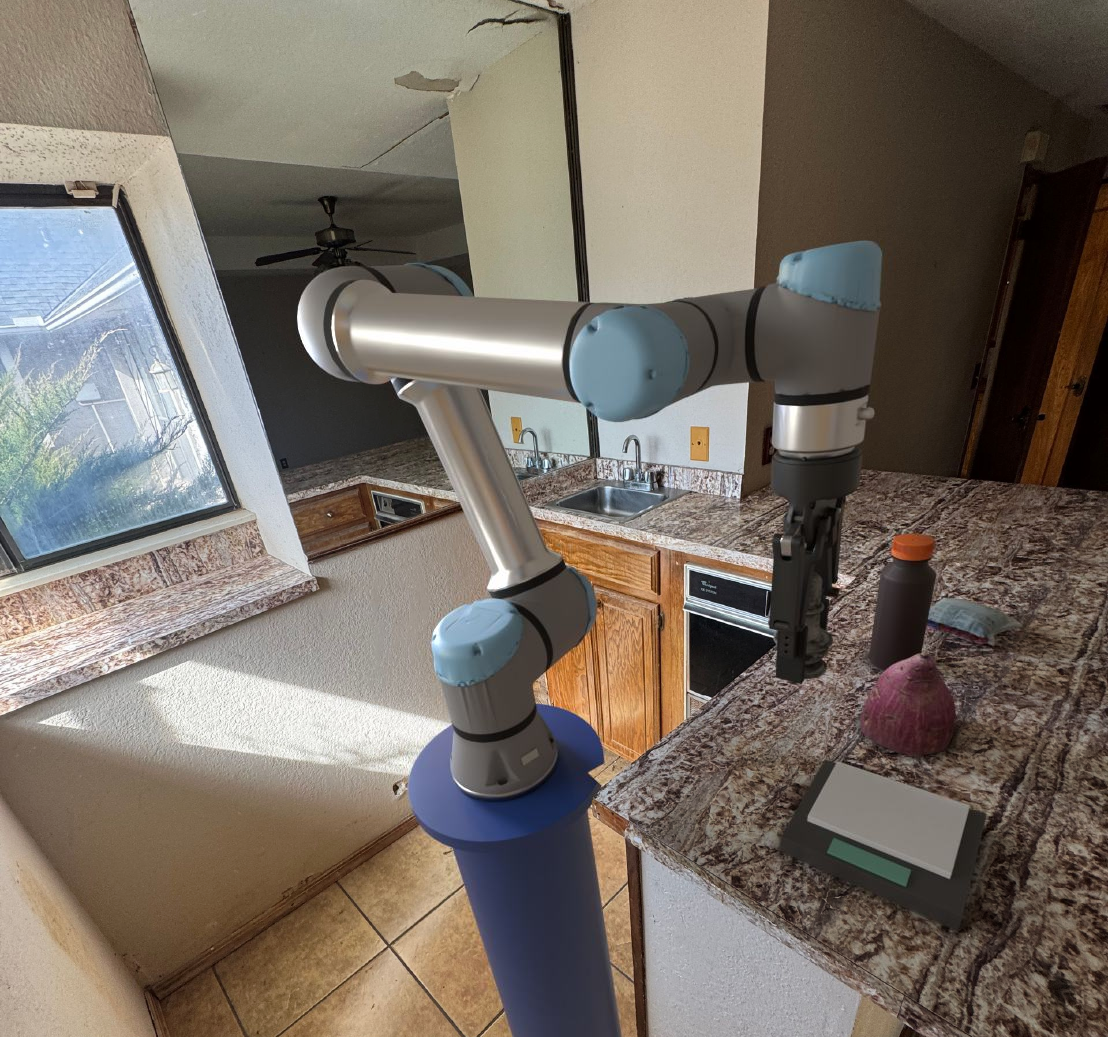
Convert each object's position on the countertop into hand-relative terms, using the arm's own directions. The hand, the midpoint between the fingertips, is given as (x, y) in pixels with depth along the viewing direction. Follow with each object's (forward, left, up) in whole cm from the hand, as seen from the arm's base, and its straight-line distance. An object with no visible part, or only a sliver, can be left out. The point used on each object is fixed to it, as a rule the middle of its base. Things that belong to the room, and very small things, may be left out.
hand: (800, 663), depth 62 cm
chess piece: (0, 0, 0) cm, 0 cm away
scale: (+11, -4, -17) cm, 20 cm away
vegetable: (+9, +16, -17) cm, 25 cm away
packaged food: (+11, +46, -17) cm, 50 cm away
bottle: (+4, +32, -17) cm, 36 cm away
